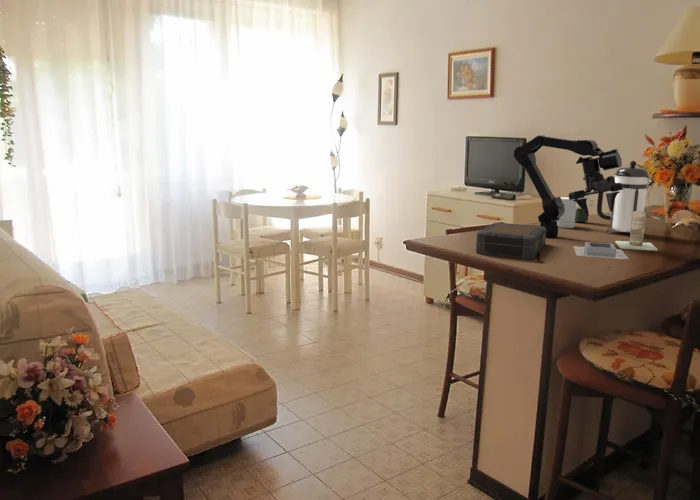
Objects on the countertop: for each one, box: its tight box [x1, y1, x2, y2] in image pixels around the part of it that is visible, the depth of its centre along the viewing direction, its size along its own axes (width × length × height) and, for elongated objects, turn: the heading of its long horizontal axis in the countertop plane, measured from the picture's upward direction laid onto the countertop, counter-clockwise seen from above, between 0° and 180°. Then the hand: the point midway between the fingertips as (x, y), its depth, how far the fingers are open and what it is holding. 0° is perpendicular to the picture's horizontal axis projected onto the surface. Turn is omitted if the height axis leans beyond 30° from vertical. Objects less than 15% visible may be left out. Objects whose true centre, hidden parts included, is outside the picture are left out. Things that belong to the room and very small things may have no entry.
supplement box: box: [557, 196, 577, 229], centre depth 255 cm, size 7×7×13 cm
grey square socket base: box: [572, 241, 629, 260], centre depth 199 cm, size 16×16×4 cm
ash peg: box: [628, 211, 647, 246], centre depth 209 cm, size 4×4×12 cm
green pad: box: [615, 240, 658, 252], centre depth 211 cm, size 12×12×2 cm
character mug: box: [575, 194, 596, 223], centre depth 267 cm, size 11×7×13 cm, turn 47°
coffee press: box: [596, 160, 652, 235], centre depth 239 cm, size 17×16×30 cm
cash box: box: [475, 222, 547, 260], centre depth 206 cm, size 25×20×8 cm
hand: (599, 213), depth 218 cm, fingers open, 9 cm apart
